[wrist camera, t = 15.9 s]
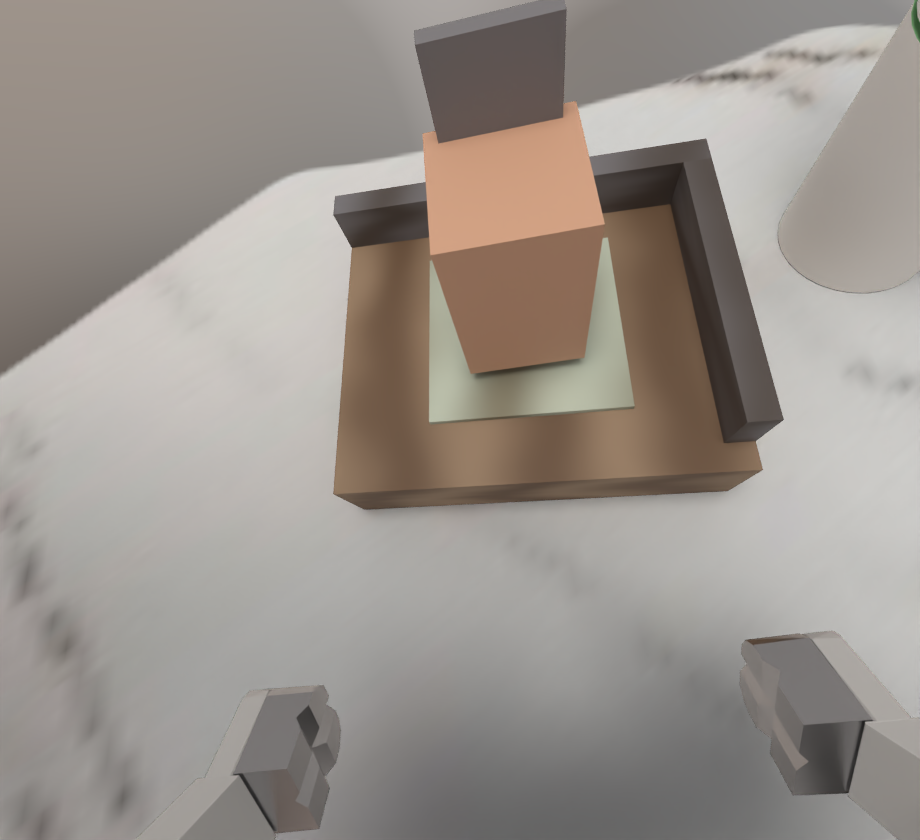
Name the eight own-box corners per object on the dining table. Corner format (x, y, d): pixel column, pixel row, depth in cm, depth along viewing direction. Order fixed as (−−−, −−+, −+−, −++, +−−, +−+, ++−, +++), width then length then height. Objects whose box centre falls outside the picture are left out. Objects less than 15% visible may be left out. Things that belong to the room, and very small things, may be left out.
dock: (364, 509, 25) (307, 481, 19) (376, 275, 31) (335, 196, 25) (727, 490, 23) (792, 451, 17) (672, 237, 28) (706, 138, 22)
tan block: (473, 381, 22) (401, 171, 11) (464, 291, 24) (396, 34, 13) (583, 366, 22) (619, 126, 11) (566, 274, 23) (582, -11, 12)
